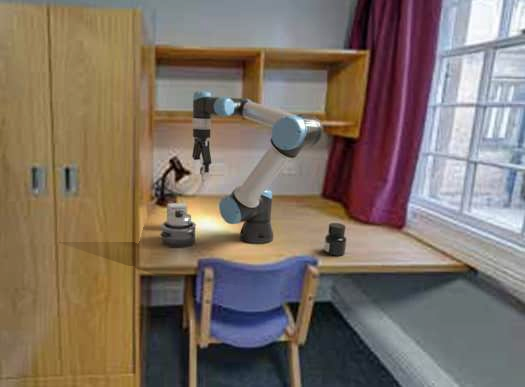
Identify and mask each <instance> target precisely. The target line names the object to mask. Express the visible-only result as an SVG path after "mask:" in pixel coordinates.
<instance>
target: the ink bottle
mask: <svg viewBox="0 0 525 387" xmlns="http://www.w3.org/2000/svg"><path fill="white" fill-rule="evenodd" d="M327 231H328V233H327V235H326V236H324V246H323V252H324V253H325V254H327V255H331V256H334V255H335V257H339V256H340V255H341V256H344V255H345V254H346V248H347V237H346V236H345V234H346V225H345V224H343V223H339V222H330V223H329V224H328V230H327ZM343 254H344V255H343ZM341 256H340V257H341Z"/></svg>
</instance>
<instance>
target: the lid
mask: <svg viewBox="0 0 525 387" xmlns="http://www.w3.org/2000/svg"><path fill="white" fill-rule="evenodd" d="M166 221H167V228H171V229H185V228H189V227H191V221H192V215H191V214H189V213H187V214H186V213H183V211H180V210H178V211H175V213H172V214H168V215H167V214H166Z"/></svg>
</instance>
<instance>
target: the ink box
mask: <svg viewBox="0 0 525 387" xmlns="http://www.w3.org/2000/svg"><path fill="white" fill-rule="evenodd" d="M178 210H180V211H183V213H186V214H188V205H187V204H186V203H185V202H178V203H177V202H175V203H173V202H172V203H167V204H166V216H167V215H168V214H172V213H175V211H178Z"/></svg>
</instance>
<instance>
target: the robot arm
mask: <svg viewBox="0 0 525 387" xmlns="http://www.w3.org/2000/svg"><path fill="white" fill-rule="evenodd" d="M192 97H193V99H192V120H191V122H192V126H193V128H192V137H193V138H194V143H193V151H192V156H191V158H192V159H193V175H201V165H202V180H203V181H208V180H210V165H212V158H211V150H210V141H209V140H207V139H210V138H211V126H212V124H211V123H212V122H211V121H212V116H217V117H221V118H222V117H240V118H243V119H246V120H250V121H253V122H255V123H259V124H261V125H264V126H267V127H270V128H272V129H271V138H270V139H269V142H270V146H269V147H268V149H267V150H266V152H265V153H264V154H263V156H261V158H260V160H259V161H258V162H257V164H256V165H255V167H254V168H253V169H252V170H251V172H250V173H249V175H248V176H247V177H246V179H245V180H244V182H243V183H242V185H237V186H236V187H235V188H234V189H233V190H232V192H231V194H230V195H229V196H228V195H226V196H224V197H223V198H221V199H220V201H219V205H218V208H219V214H220V216H221V218H222V219H223V221H224V222H226V223H227V224H230V225H237V224H241V223H243V224H242V226H241V228H240V231H239V239H240V240H241V241H243V242H245V243H248V244H255V245H258V244H259V245H260V244H268V243H271V242H273V241H274V231H273V227H272V223H271V218H272V203H273V192H272V191H271V190H270V189H269V188H268V187H269V186H270V185H271V183H272V182H273V181H274V180H275V178H276V177H277V176H278V174H279V173H280V172H281V170H282V169H283V168H284V167H285V165H286V164H287V163H288V161H289V160H291V159H293V160H294V159H296V158H297V156H298V155H299V154H300V153H301V151H302V150H304V148H312V147H313V146H316V145H317V144H318V143H320V142H321V140H322V138H323V135H324V127H323V124H322V122H321V121H320V120H319V119H318V118H317V117H315V116H313V115H306V114H302V113H298V114H294V113H290V112H287V111H284V110H281V109H277V108H273V107H270V106H267V105H263V104H260V103H257V102H254V101H252V100H251V99H248V98H244V97H241V98H239V97H238V98H237V97H224V96H222V97H221V96H220V97H219V96H212V94H211V92H209V91H195V92H193V96H192ZM201 157H202V158H201ZM201 159H202V162H201ZM267 188H268V189H267Z"/></svg>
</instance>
